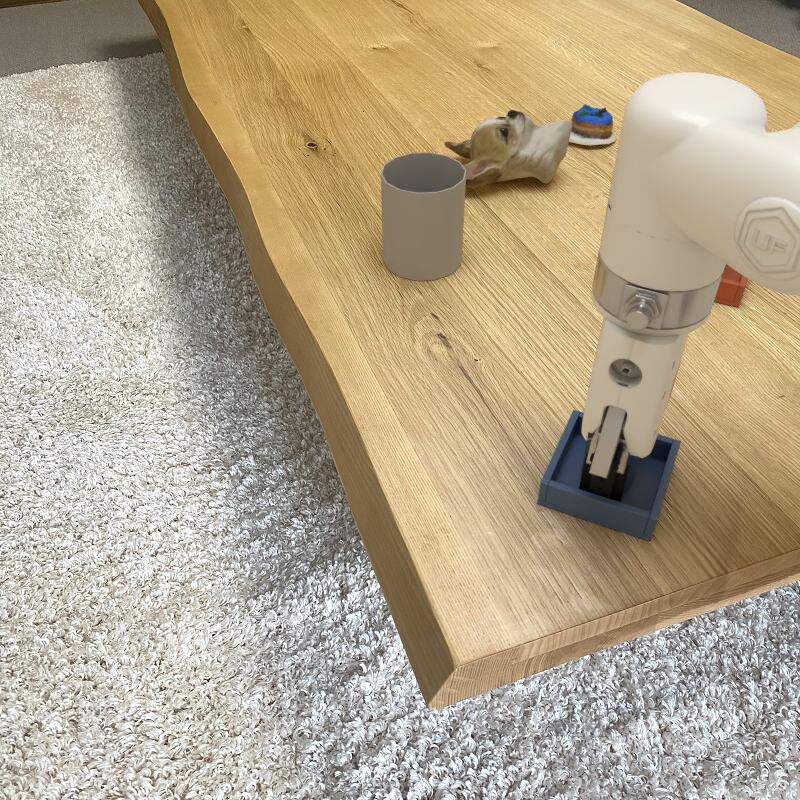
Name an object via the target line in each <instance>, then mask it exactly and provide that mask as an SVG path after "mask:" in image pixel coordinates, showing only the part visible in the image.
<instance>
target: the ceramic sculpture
mask: <svg viewBox="0 0 800 800" xmlns="http://www.w3.org/2000/svg"><path fill="white" fill-rule="evenodd" d="M571 130H572V121H569V120H566V121H553V122H549V123H547V124H541V125H538V124H535V123H534V122H533V121H532V120H531V117H530V116H529V115H528V114H525V113H524V112H523V111H521V110H520V111H519V110H515V109H510V110H508V111H507V114H506V116H497V117H496V118H494V117H489V118H486V119H484V120H483V121H482V122H481V123H480V124H479V125H477V127H476V128H474V130H473V132H472V134H471V138H470V139H465V140H463V141H461V142H454V141H445V142H444V143H443V144H444V146H445V147H446V148H447V149H449V150H450V151H452V152H453V153H454V154H456V155H458V156H459V157H461V158H464V159H465V160H470V162H468V163H465V164H462V165H463V167H464V168H465V169H466V186H465V188H471V189H477V188H481V187H484V186H487V185H489V184H492V183H495V182H497V183H499V182H507V181H512V180H516V179H524V178H535V179H537V180H538V181H540V183H543V184H549V183H550V182H551V181H552V179H553V178H554V176H555V174H556V173H557V171H558V169H559V166H560V164H561V163H562V161H563V160H564V159H565V157H566V156H567V152H568V148H569V143H570V142H569V139H570V134H571Z"/></svg>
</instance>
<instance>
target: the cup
mask: <svg viewBox="0 0 800 800" xmlns="http://www.w3.org/2000/svg"><path fill="white" fill-rule="evenodd" d="M463 165H464V164H462V162H461V161H459V160H457V159H455V158H453V157H451V156H449V155H447V154H440V153H437V152H436V153H435V152H430V151H427V152H410V153H406V154H402V155H398V156H394V158H391V159H390V160H388V161H387V162H386V163H384V164H383V166H382V169H381V172H380V200H381V233H382V235H381V239H382V261H383V263H384V264H385V267H386V269H387V270H388V271H390V273H393V274H394V275H396V276H398V277H400V278H403V279H405V280H406V279H407V280H410V281H411V280H412V281H416V282H422V281H423V282H424V281H436V280H439V279H443V278H446V277H448V276H450V275H452V274H454V273H455V272H456V271H457V270H458V269H459V268H461V264H462V260H463V248H464V247H463V245H464V226H465V224H464V223H465V205H466V203H465V202H466V187H465V186H466V169H465V168H464V167H463Z"/></svg>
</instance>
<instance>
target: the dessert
mask: <svg viewBox="0 0 800 800" xmlns="http://www.w3.org/2000/svg"><path fill="white" fill-rule="evenodd" d="M613 120H614V117H613V115H612V114H611V112H609V111H608V110H607V106H605V107H602V108H597V107H591V106H590V105H588V104H587V103H585V104H583V105H582V107H581V108H579V109H577V110H575V111H574V112H573V113H572V115H571V119H569V120H568V121H572V130H571V134H570V139H569V143H574V144H578V145H581V146H582V145H584V146H598V145H610V144H612V143H614V142H616V140H617V133H616V130H615V129H614V124H613V123H614V121H613Z"/></svg>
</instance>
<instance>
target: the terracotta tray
mask: <svg viewBox="0 0 800 800" xmlns="http://www.w3.org/2000/svg"><path fill="white" fill-rule="evenodd" d="M748 280H749V279H748V278H746V277H745V276H743V275H741V274H740V273H738V272H737V271H735V270H734V269H733V268H731V267H730V266H728V265H727V264H726V265H725V268H724V271H723V274H722V277H721V280H720V284H719V287H718V290H717V293H716V297H715V300H714V303H718V304H721V305H725V306H730V307H735V308H739V307H740V305H741V302H742V299H743V296H744V292H745V290H746V286H747V283H748Z"/></svg>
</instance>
